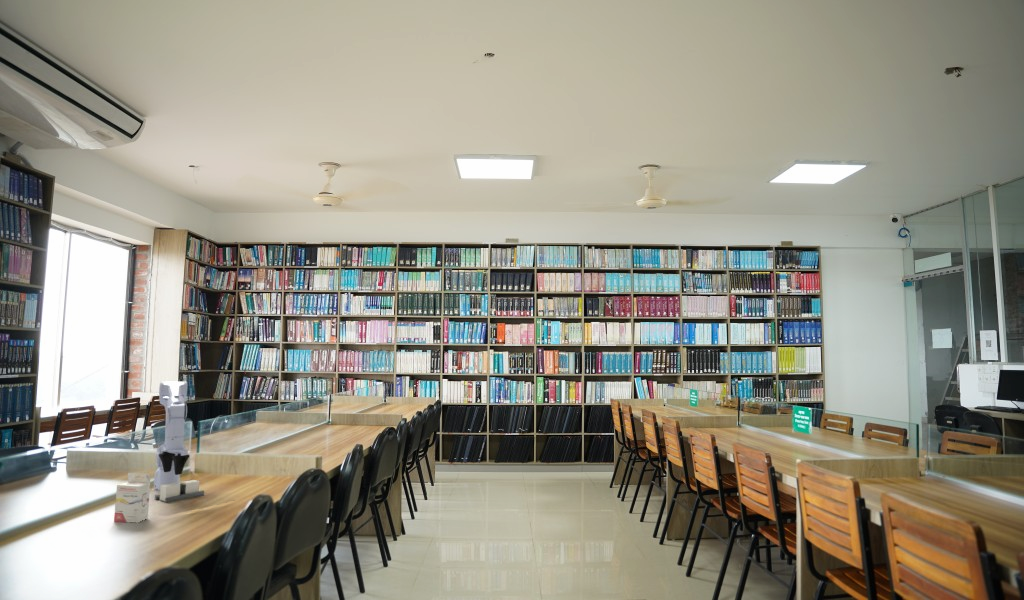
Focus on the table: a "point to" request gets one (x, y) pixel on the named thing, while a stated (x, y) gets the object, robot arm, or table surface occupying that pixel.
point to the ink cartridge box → (132, 499)
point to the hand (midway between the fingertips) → (172, 473)
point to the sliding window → (180, 496)
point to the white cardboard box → (169, 490)
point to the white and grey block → (189, 486)
